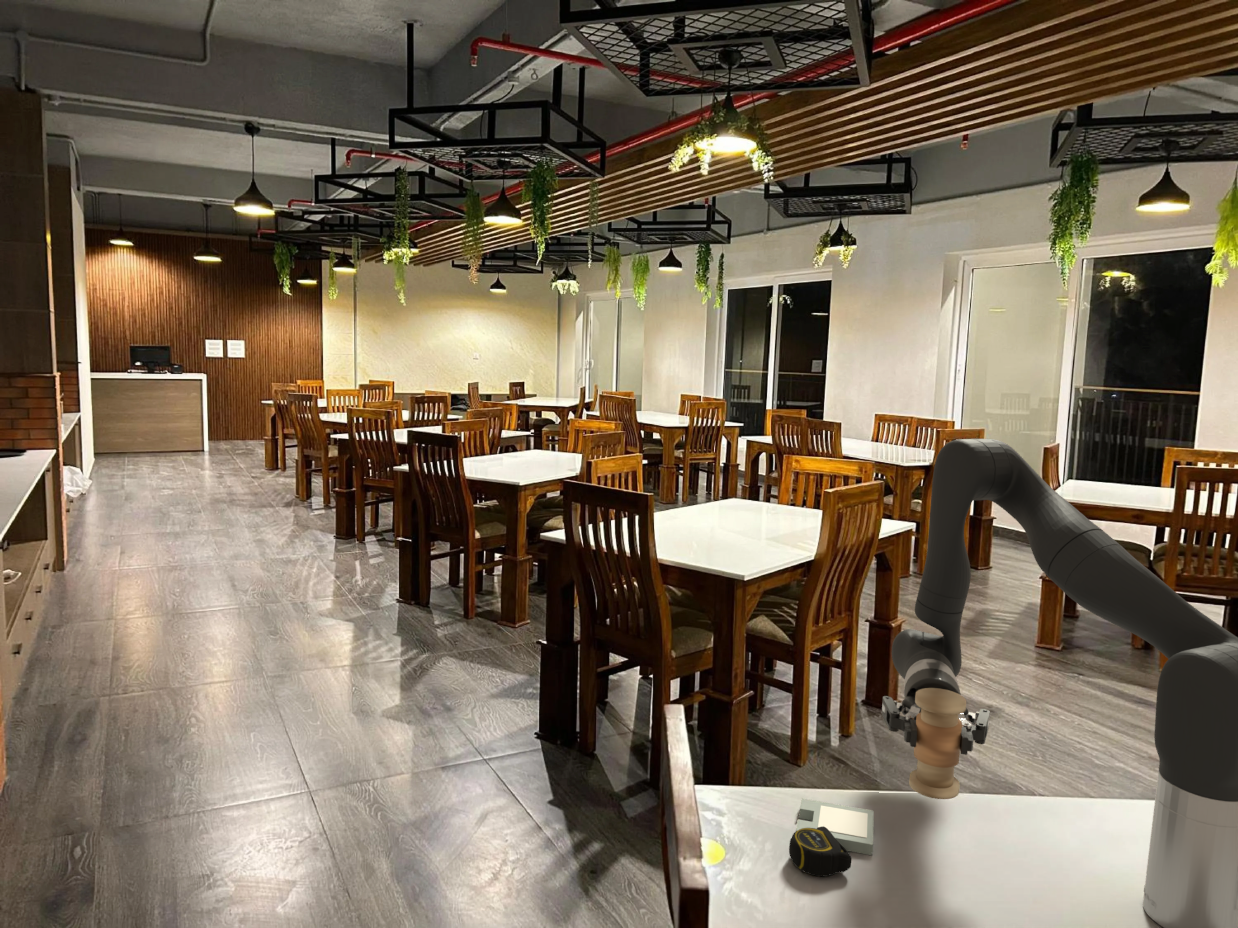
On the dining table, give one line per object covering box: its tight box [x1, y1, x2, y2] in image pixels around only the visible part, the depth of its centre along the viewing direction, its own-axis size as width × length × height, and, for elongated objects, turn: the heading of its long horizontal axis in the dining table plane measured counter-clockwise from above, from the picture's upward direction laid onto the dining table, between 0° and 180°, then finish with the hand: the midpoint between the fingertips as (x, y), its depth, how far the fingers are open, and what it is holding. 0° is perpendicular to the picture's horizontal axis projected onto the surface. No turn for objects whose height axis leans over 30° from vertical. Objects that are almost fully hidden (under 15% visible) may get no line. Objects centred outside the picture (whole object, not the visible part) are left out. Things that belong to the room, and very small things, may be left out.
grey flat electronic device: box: [795, 797, 875, 856], centre depth 120 cm, size 10×9×2 cm
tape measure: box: [788, 826, 853, 877], centre depth 111 cm, size 7×7×4 cm
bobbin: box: [908, 688, 967, 800], centre depth 110 cm, size 6×6×12 cm
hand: (939, 743), depth 108 cm, fingers closed on bobbin, 5 cm apart
